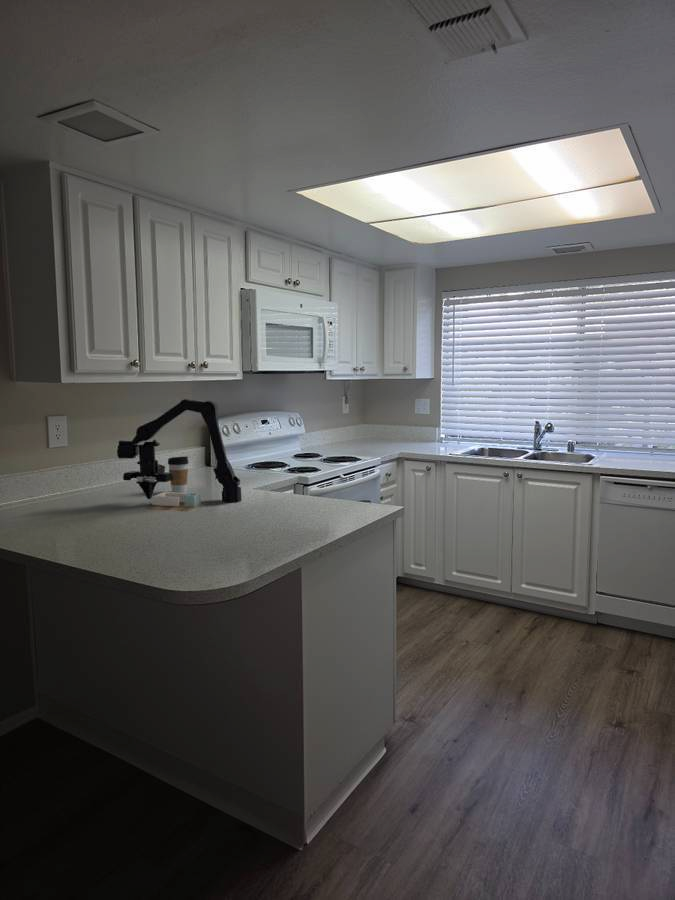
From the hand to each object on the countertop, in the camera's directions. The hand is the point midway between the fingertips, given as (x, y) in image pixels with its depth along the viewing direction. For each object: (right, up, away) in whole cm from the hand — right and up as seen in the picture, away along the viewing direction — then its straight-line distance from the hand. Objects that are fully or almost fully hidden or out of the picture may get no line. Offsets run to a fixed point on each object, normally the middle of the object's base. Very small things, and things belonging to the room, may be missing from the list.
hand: (149, 498), depth 234 cm
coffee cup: (+5, 0, +25) cm, 25 cm away
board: (+12, -3, -6) cm, 14 cm away
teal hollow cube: (+18, -2, -6) cm, 19 cm away
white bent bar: (+9, -1, -3) cm, 10 cm away
